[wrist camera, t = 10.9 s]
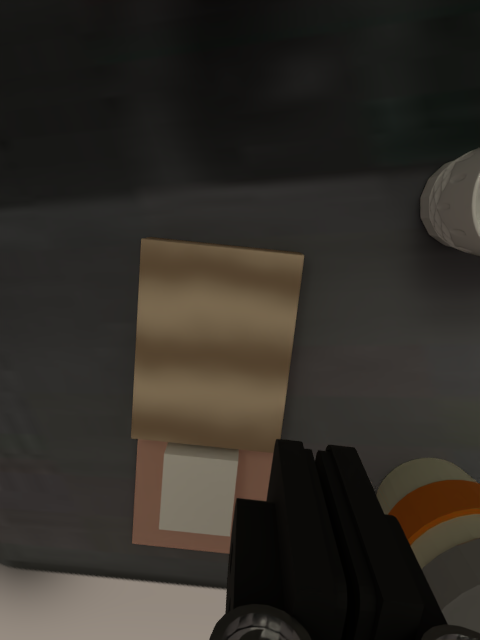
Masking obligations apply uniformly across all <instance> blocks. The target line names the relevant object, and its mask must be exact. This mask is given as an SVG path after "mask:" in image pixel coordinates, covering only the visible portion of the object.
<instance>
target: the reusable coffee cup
mask: <svg viewBox="0 0 480 640" xmlns="http://www.w3.org/2000/svg"><path fill="white" fill-rule="evenodd" d="M376 496H377V498H378V501H379V503H380V505H381V507H382V510H383V512H384V514H387V515H393V516H395V517H396V518H397V520H398V521H399V523H400V525H401V527H402V529H403V531H404V533H405V535H406V538H407V540H408V542H409V544H410V546H411V548H412V550H413V552H414V554H415V556H416V559H417V561H418V563H419V565H420V567H421V569H422V571H423V573H424V575H425V577H426V580H427V582H428V584H429V586H430V588H431V590H432V592H433V594H434V596H435V598H436V601H437V603H438V605H439V607H440V609H441V611H442V613H443V615H444V617H445V619H446V621H447V624H448V625H456V626H462V627H465V628H467V629H470V630H473V631H476V632H478V633H480V484H479V483H477V482H476V481H475V480H474V479H473V478H471V477H470V476H469V475H468V474H467V473H465V472H464V471H463V470H462V469H461V468H459V467H458V466H456V465H454V464H453V463H451V462H448V461H446V460H443V459H437V458H420V459H415V460H411V461H408V462H406V463H403V464H402V465H400V466H398V467H396V468H395V469H394V470H393V471H391V472H390V473H389V474H388V475H387V476H386V477H385V479H384V480H383V481H382V483H381V485H380V486H379V488H378V491H377V494H376Z"/></svg>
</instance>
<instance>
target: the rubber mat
mask: <svg viewBox="0 0 480 640" xmlns="http://www.w3.org/2000/svg"><path fill="white" fill-rule="evenodd" d="M167 444H168V442H162V441H152V440H143V439H138V446H137V464H136V483H135V501H134V519H133V537H132V544H140V545H150V546H160V547H170V548H179V549H189V550H199V551H209V552H218V553H228V554H229V552H230V542H231V533H232V525H233V518H234V510H235V503H236V499H237V498H242V499H251V500H260V501H266V500H267V493H268V486H269V480H270V473H271V466H272V459H273V453H269V452H259V451H250V450H240V449H239V455H238V467H237V477H236V486H235V495H234V504H233V513H232V522H231V532H230V537H229V536H219V535H209V534H199V533H190V532H180V531H170V530H160V529H159V520H160V505H161V491H162V476H163V462H164V453H165V450H166V447H167Z"/></svg>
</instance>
